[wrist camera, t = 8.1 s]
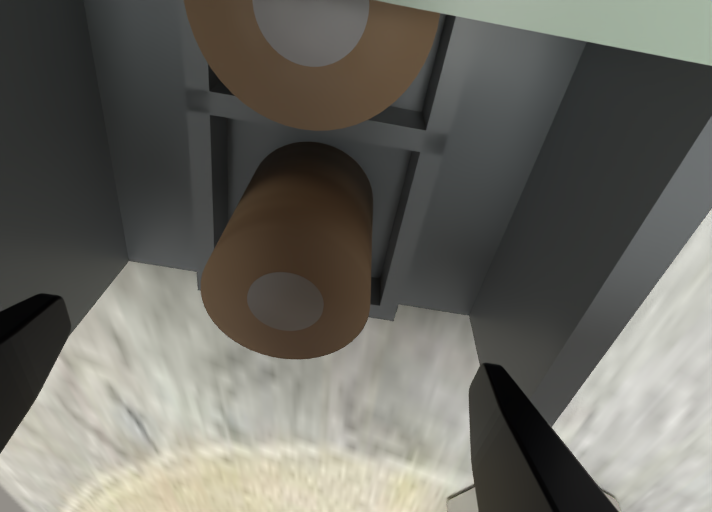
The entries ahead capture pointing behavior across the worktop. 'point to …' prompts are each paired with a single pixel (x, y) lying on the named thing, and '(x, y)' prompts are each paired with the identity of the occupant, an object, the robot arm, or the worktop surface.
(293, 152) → the brown sleeve
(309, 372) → the worktop surface
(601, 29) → the lid
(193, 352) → the worktop surface
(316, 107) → the housing
